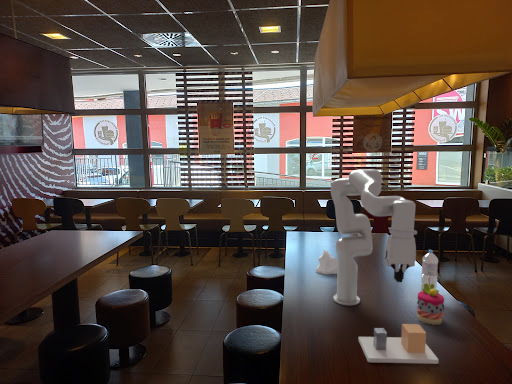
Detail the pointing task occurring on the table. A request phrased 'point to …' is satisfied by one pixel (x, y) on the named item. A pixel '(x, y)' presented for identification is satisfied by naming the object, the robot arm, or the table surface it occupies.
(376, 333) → the post
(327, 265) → the soft serve ice cream
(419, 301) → the cake
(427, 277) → the water bottle
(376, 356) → the board
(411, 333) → the block
